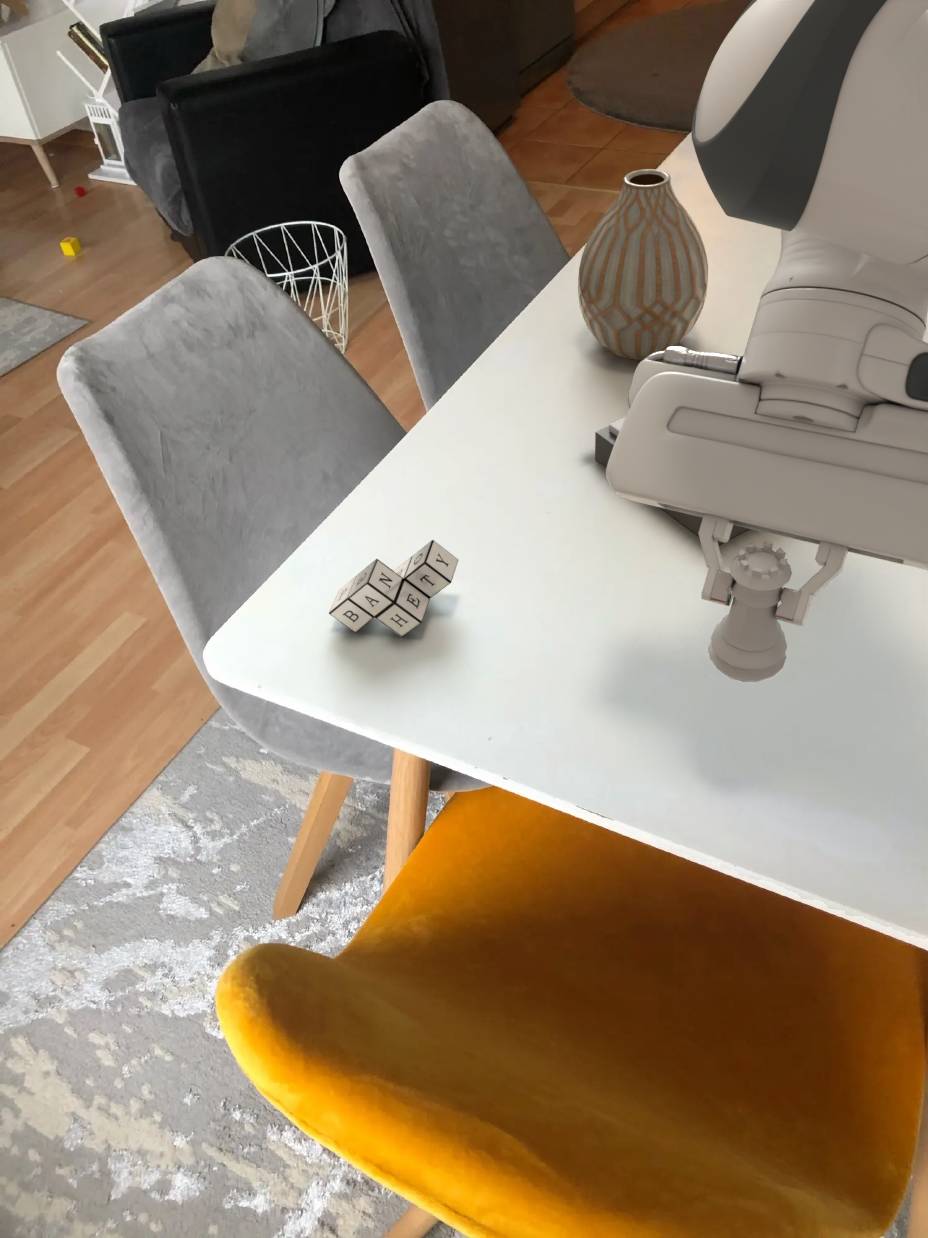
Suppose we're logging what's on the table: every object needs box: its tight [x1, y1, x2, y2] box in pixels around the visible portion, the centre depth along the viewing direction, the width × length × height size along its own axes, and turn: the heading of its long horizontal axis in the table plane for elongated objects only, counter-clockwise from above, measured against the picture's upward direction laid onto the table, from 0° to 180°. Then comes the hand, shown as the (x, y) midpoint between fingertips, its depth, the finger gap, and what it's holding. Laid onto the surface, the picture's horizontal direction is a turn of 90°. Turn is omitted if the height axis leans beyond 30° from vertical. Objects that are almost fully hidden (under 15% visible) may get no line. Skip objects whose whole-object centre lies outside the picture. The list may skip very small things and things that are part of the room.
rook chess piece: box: [707, 541, 793, 683], centre depth 54 cm, size 4×4×8 cm
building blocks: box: [328, 539, 459, 638], centre depth 75 cm, size 5×5×8 cm
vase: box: [577, 168, 709, 361], centre depth 97 cm, size 13×13×18 cm
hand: (751, 612), depth 54 cm, fingers closed on rook chess piece, 3 cm apart
